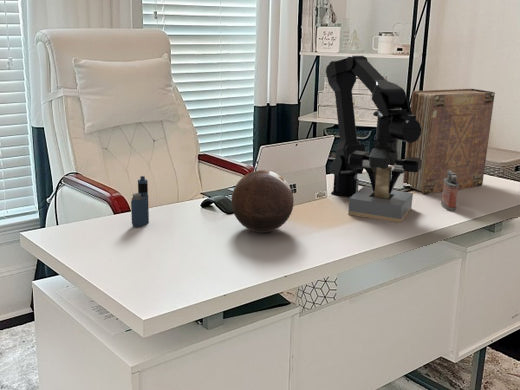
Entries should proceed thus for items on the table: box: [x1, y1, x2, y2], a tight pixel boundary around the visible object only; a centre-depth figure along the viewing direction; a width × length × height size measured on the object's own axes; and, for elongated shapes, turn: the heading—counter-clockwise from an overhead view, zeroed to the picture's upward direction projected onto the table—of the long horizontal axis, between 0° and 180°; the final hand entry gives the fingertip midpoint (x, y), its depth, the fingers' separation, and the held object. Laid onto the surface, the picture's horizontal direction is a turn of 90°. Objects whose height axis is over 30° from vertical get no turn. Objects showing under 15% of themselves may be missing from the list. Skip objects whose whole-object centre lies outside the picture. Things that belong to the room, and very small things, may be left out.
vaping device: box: [130, 175, 150, 228], centre depth 151 cm, size 3×5×12 cm, turn 155°
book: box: [402, 88, 496, 195], centre depth 191 cm, size 25×9×30 cm, turn 118°
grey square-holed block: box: [347, 185, 414, 224], centre depth 168 cm, size 14×14×4 cm
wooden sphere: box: [231, 169, 295, 233], centre depth 149 cm, size 15×15×15 cm
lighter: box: [440, 171, 459, 212], centre depth 173 cm, size 8×3×10 cm, turn 179°
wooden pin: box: [374, 165, 393, 200], centre depth 166 cm, size 4×4×10 cm
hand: (382, 192), depth 167 cm, fingers closed on wooden pin, 4 cm apart
